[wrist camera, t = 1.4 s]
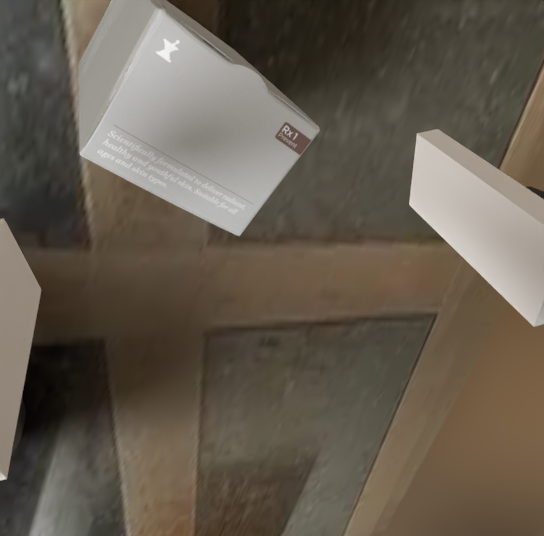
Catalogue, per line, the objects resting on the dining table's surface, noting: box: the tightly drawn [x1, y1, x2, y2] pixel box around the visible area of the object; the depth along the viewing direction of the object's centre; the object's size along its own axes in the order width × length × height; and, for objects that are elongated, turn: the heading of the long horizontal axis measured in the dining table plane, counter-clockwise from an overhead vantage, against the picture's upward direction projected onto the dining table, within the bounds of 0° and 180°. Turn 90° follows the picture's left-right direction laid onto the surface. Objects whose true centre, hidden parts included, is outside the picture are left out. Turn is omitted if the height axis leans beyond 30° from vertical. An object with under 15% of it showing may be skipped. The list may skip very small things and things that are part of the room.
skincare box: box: [78, 0, 320, 236], centre depth 25 cm, size 8×7×16 cm
